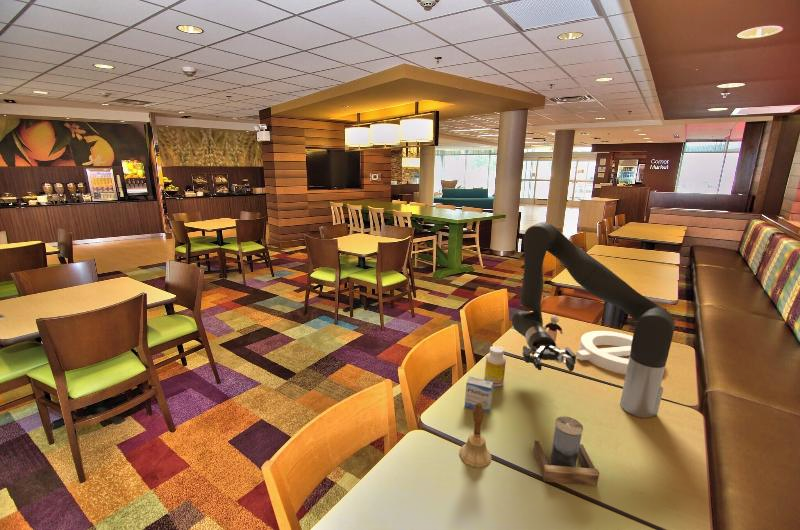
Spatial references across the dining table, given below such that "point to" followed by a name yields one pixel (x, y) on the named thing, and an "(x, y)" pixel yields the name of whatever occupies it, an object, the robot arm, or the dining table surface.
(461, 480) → the dining table surface
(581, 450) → the wooden u-shaped bracket
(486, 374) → the supplement bottle
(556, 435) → the tin
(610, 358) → the ring with crossbar
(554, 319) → the grandmother figurine
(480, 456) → the hand bell
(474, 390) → the medicine box
